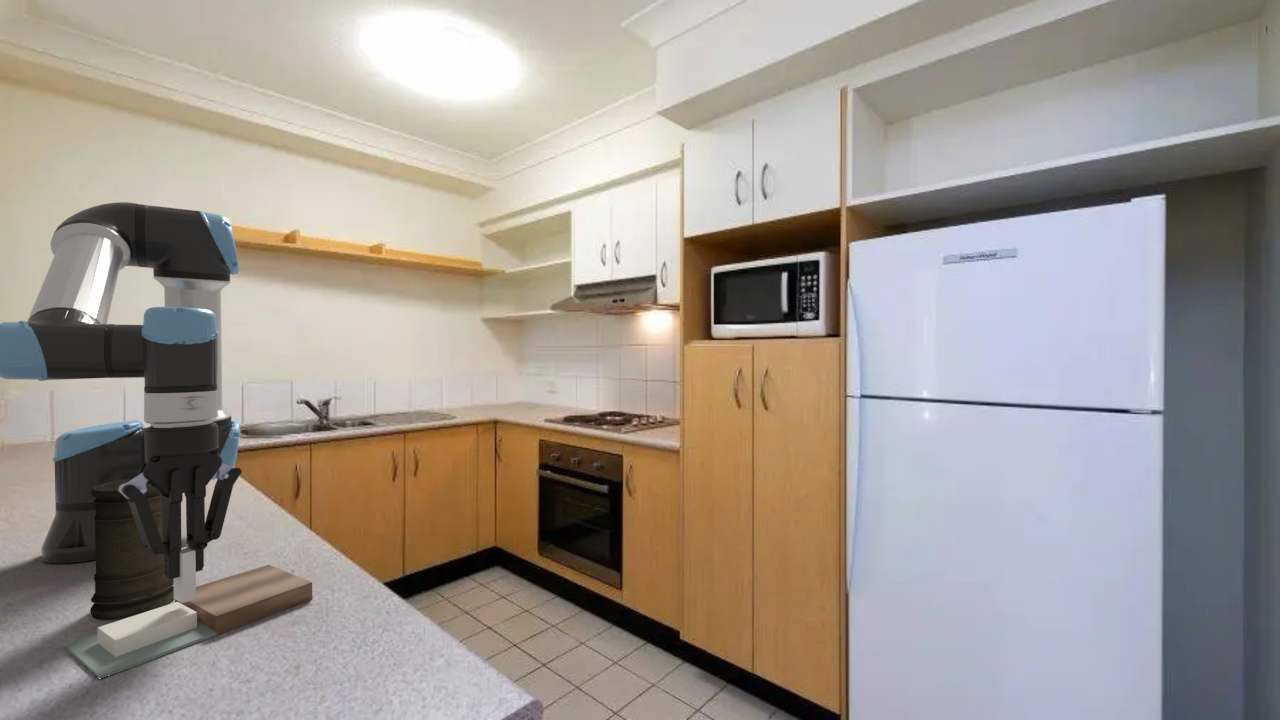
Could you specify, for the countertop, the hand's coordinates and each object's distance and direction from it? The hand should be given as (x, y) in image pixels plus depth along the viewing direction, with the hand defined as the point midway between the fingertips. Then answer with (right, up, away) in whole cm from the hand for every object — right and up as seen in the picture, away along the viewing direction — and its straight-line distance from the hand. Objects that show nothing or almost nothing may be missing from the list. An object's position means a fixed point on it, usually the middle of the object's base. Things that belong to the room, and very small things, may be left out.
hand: (184, 598), depth 72 cm
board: (+4, -4, +6) cm, 8 cm away
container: (-12, -4, +6) cm, 14 cm away
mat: (-2, -4, -4) cm, 6 cm away
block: (-2, -3, -3) cm, 5 cm away
